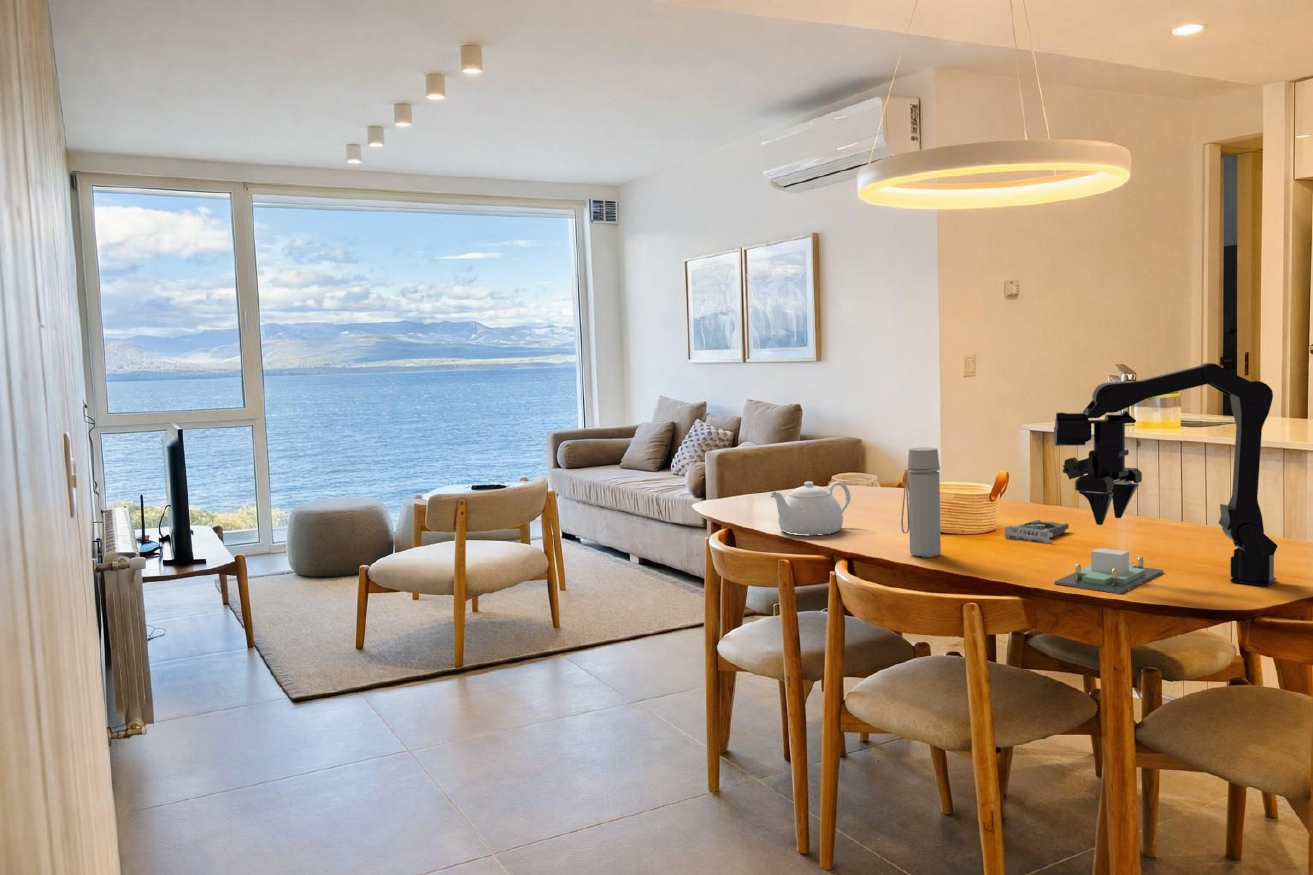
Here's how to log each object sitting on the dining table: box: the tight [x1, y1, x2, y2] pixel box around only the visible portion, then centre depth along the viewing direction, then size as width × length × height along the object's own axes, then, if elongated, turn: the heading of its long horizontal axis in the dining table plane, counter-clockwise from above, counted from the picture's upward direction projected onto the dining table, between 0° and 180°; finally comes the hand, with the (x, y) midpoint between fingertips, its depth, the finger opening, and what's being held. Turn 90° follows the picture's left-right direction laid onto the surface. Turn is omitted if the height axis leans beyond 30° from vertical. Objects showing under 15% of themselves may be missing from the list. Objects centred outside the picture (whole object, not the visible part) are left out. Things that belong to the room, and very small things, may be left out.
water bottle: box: [900, 447, 942, 558], centre depth 229 cm, size 9×8×25 cm
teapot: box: [770, 481, 851, 535], centre depth 264 cm, size 19×18×14 cm
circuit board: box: [1074, 547, 1145, 585], centre depth 200 cm, size 10×16×5 cm, turn 133°
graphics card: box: [1004, 519, 1070, 544], centre depth 245 cm, size 17×4×12 cm
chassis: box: [1054, 556, 1164, 595], centre depth 200 cm, size 13×22×4 cm, turn 133°
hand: (1109, 521), depth 199 cm, fingers open, 9 cm apart
